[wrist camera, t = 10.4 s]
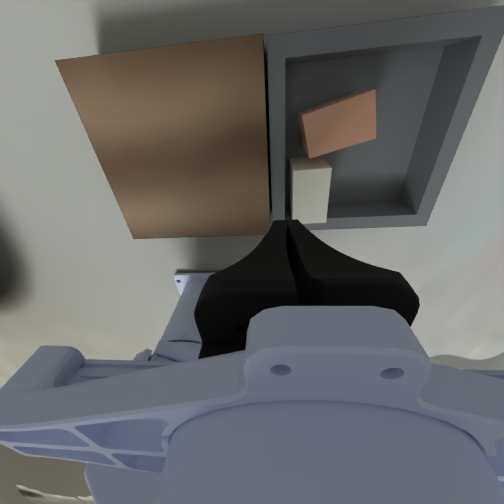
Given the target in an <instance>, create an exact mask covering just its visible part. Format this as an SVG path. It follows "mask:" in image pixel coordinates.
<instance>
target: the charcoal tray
mask: <svg viewBox="0 0 504 504" xmlns="http://www.w3.org/2000/svg"><path fill="white" fill-rule="evenodd" d="M503 34H504V6H496V7H488V8H480V9H472V10H464V11H457V12H449V13H441V14H433V15H425V16H417V17H409V18H401V19H394V20H386V21H378V22H370V23H362V24H354V25H346V26H339V27H331V28H323V29H315V30H307V31H299V32H291V33H284V34H276V35H268V36H267V61H268V93H269V125H270V158H271V190H272V222H273V221H274V220H292V218H291V212H290V207H289V158H297V157H308V156H307V154H306V153H305V151H304V150H303V148H302V143H301V138H300V132H299V127H298V121H297V116H296V112H299V111H302V110H304V109H307V108H310V107H313V106H315V105H318V104H321V103H324V102H326V101H329V100H332V99H335V98H337V97H340V96H343V95H346V94H348V93H351V92H356V91H365V90H374V89H376V138H375V139H372V140H368V141H365V142H362V143H359V144H356V145H352V146H349V147H346V148H343V149H339V150H336V151H333V152H330V153H327V154H323V155H320V156H321V157H322V158H323V159H324V160H325V161H326V162H327V163H328V164H329V165H330V167H331V168H332V171H331V180H330V190H329V199H328V209H327V219H326V223H311V224H303V225H304V226H305V227H306V228H307V229H308V230H323V229H351V228H379V227H407V226H426V225H427V222H428V220H429V217H430V215H431V212H432V210H433V207H434V205H435V202H436V200H437V198H438V195H439V193H440V190H441V188H442V185H443V183H444V180H445V178H446V175H447V173H448V170H449V168H450V165H451V163H452V160H453V158H454V155H455V153H456V150H457V148H458V146H459V143H460V141H461V138H462V136H463V133H464V131H465V128H466V126H467V123H468V121H469V118H470V116H471V113H472V111H473V108H474V106H475V103H476V101H477V99H478V96H479V94H480V91H481V89H482V86H483V84H484V81H485V79H486V76H487V74H488V71H489V69H490V66H491V64H492V61H493V59H494V56H495V54H496V51H497V49H498V47H499V44H500V42H501V39H502V37H503Z"/></svg>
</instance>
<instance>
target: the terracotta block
mask: <svg viewBox="0 0 504 504" xmlns="http://www.w3.org/2000/svg"><path fill="white" fill-rule="evenodd" d="M296 116H297V121H298V127H299V132H300V138H301V143H302V148H303V150H304V151H305V153H306V154H307V156H308V157H309V159H310V158H314V157H317V156H320V155H323V154H327V153H330V152H333V151H336V150H339V149H343V148H346V147H349V146H352V145H356V144H359V143H362V142H365V141H368V140H372V139H375V138H376V89H374V90H365V91H356V92H351V93H348V94H346V95H343V96H340V97H337V98H335V99H332V100H329V101H326V102H324V103H321V104H318V105H315V106H313V107H310V108H307V109H304V110H302V111H299V112H296Z"/></svg>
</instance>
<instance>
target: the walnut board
mask: <svg viewBox="0 0 504 504" xmlns="http://www.w3.org/2000/svg"><path fill="white" fill-rule="evenodd" d="M55 62H56V64H57V67H58V69H59V71H60V73H61V76H62V78H63V80H64V82H65V85H66V87H67V89H68V92H69V94H70V96H71V98H72V101H73V103H74V105H75V107H76V110H77V112H78V114H79V116H80V119H81V121H82V123H83V125H84V128H85V130H86V132H87V135H88V137H89V139H90V141H91V144H92V146H93V148H94V150H95V153H96V155H97V157H98V159H99V162H100V164H101V166H102V169H103V171H104V173H105V175H106V178H107V180H108V182H109V184H110V187H111V189H112V191H113V193H114V196H115V198H116V200H117V202H118V205H119V207H120V209H121V212H122V214H123V216H124V218H125V221H126V223H127V225H128V227H129V230H130V232H131V234H132V236H133V239H150V238H179V237H208V236H237V235H266V234H267V232H268V231H269V229H270V187H269V159H268V131H267V104H266V76H265V49H264V40H263V34H257V35H249V36H242V37H234V38H226V39H218V40H210V41H203V42H195V43H187V44H179V45H171V46H164V47H156V48H148V49H140V50H133V51H125V52H117V53H109V54H101V55H94V56H86V57H78V58H70V59H62V60H55Z"/></svg>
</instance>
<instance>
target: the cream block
mask: <svg viewBox="0 0 504 504" xmlns="http://www.w3.org/2000/svg"><path fill="white" fill-rule="evenodd" d="M331 171H332V168H331V167H330V165H329V164H328V163H327V162H326V161H325V160H324V159H323V158H322V157H321V156H317V157H314V158H310V159H309V157H297V158H289V207H290V212H291V218H292V220H293V219H298V220H299V221H300V222H301V223H302V224H311V223H326V219H327V209H328V199H329V190H330V180H331Z"/></svg>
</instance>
